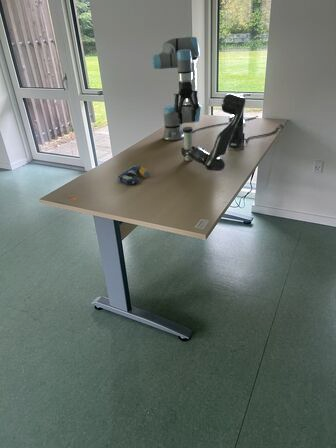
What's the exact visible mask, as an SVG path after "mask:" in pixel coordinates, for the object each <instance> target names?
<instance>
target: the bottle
mask: <svg viewBox="0 0 336 448" xmlns="http://www.w3.org/2000/svg"><path fill="white" fill-rule="evenodd" d="M183 133H184V132H183ZM183 145H184V146H183V148H185V149H192V146H193V132H190V133H184V137H183ZM184 160H185V161H187V162H190V161H194V159H192V157H191V156H189V155H186V157H184Z"/></svg>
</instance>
